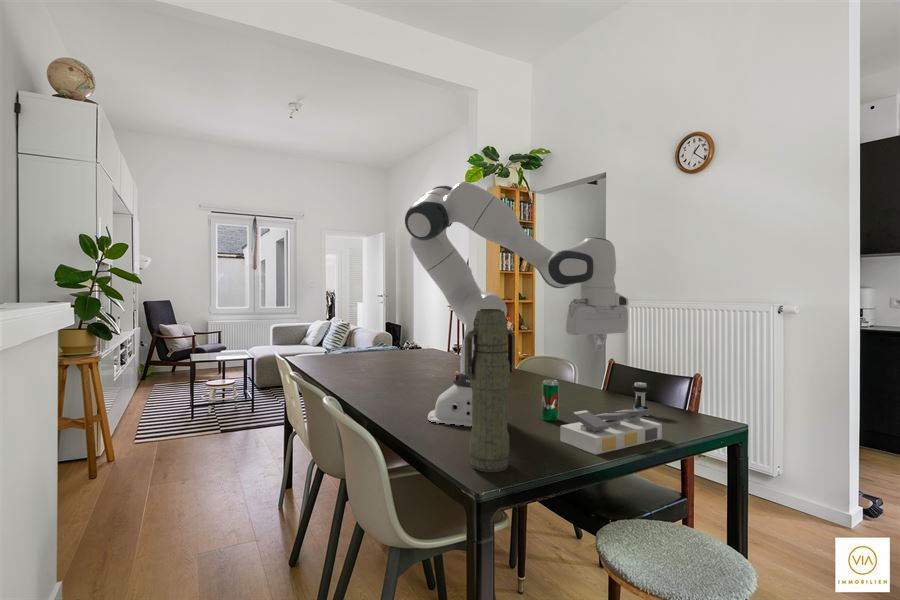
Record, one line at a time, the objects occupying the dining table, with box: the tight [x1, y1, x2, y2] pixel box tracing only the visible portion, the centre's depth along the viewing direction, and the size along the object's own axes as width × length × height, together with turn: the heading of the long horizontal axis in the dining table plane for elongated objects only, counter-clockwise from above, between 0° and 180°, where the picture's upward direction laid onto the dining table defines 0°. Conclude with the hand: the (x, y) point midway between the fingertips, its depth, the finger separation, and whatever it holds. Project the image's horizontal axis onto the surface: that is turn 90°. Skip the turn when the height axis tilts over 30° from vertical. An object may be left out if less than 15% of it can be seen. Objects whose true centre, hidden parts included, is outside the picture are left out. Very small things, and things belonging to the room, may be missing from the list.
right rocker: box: [613, 408, 652, 417], centre depth 127 cm, size 5×8×1 cm, turn 30°
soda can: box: [541, 378, 560, 422], centre depth 142 cm, size 5×5×12 cm
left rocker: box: [571, 409, 609, 432], centre depth 119 cm, size 5×8×1 cm, turn 30°
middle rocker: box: [594, 412, 631, 420], centre depth 123 cm, size 5×8×1 cm, turn 30°
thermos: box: [465, 309, 516, 473], centre depth 104 cm, size 9×12×35 cm
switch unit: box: [559, 416, 663, 455], centre depth 123 cm, size 25×12×5 cm, turn 120°
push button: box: [631, 381, 650, 417], centre depth 149 cm, size 7×5×10 cm
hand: (597, 351), depth 124 cm, fingers closed
